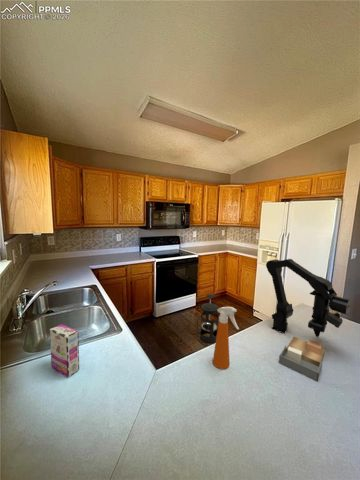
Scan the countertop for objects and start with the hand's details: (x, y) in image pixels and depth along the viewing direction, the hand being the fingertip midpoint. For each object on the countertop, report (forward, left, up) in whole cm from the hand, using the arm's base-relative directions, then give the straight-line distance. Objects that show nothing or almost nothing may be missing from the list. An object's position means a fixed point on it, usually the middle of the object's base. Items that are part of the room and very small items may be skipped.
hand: (317, 336), depth 97 cm
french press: (-42, -32, -6) cm, 53 cm away
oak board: (-3, -10, -5) cm, 11 cm away
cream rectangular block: (-5, -18, -2) cm, 19 cm away
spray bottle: (-26, -43, -6) cm, 50 cm away
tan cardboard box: (0, -8, -3) cm, 8 cm away
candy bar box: (-71, -89, -6) cm, 114 cm away
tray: (-3, -21, -5) cm, 21 cm away
